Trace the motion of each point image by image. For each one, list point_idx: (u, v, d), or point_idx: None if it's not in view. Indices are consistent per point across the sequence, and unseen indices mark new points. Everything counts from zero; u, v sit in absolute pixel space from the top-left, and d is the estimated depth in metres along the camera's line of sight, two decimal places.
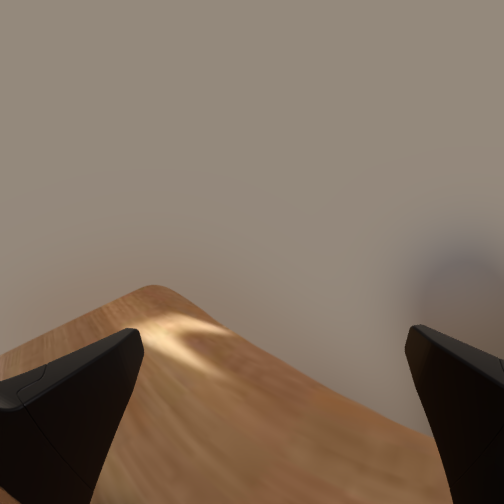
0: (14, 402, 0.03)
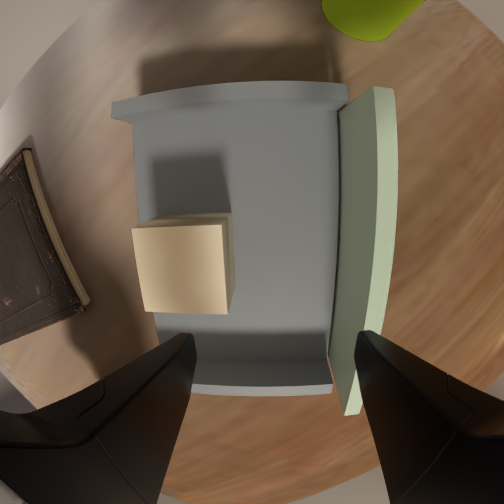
0: (79, 431, 0.03)
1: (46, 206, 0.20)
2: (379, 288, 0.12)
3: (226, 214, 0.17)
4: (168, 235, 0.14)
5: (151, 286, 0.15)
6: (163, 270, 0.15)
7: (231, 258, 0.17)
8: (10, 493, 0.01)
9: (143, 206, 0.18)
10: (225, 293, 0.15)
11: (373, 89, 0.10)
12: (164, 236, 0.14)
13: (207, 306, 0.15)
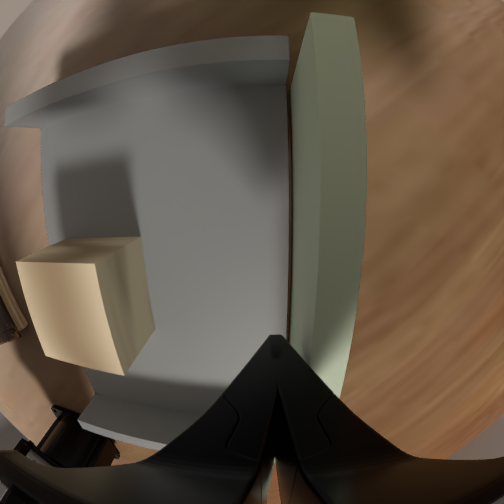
0: (241, 464, 0.03)
1: None
2: (325, 383, 0.07)
3: (130, 240, 0.12)
4: (45, 273, 0.09)
5: (43, 330, 0.10)
6: (49, 314, 0.10)
7: (138, 298, 0.12)
8: None
9: (51, 227, 0.13)
10: (116, 351, 0.10)
11: (311, 18, 0.04)
12: (42, 274, 0.09)
13: (100, 363, 0.10)
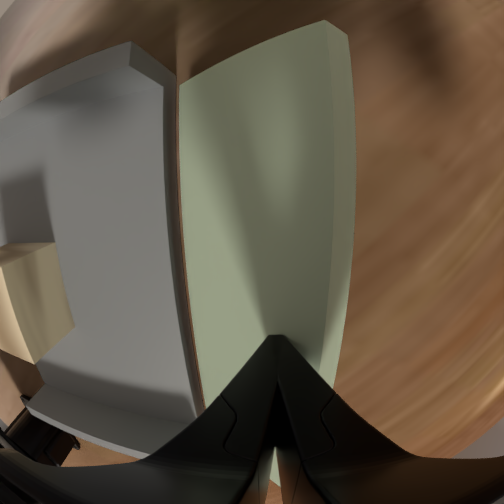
0: (238, 464, 0.03)
1: None
2: (328, 368, 0.07)
3: (44, 246, 0.11)
4: None
5: None
6: None
7: (52, 298, 0.12)
8: None
9: None
10: (25, 342, 0.09)
11: (323, 25, 0.05)
12: None
13: (18, 351, 0.10)
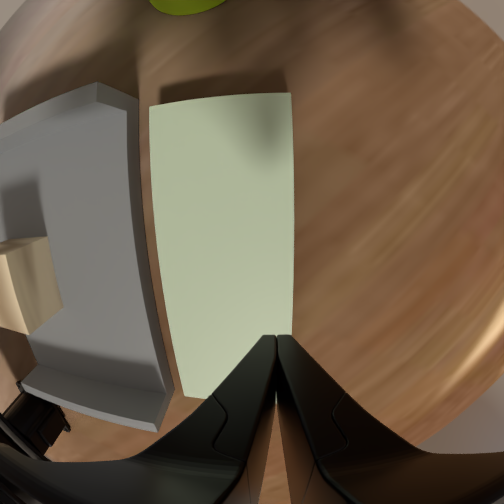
0: (226, 463, 0.03)
1: None
2: None
3: (38, 239, 0.14)
4: None
5: None
6: None
7: (45, 281, 0.14)
8: None
9: (0, 230, 0.15)
10: (22, 316, 0.12)
11: (289, 95, 0.12)
12: None
13: (16, 325, 0.12)
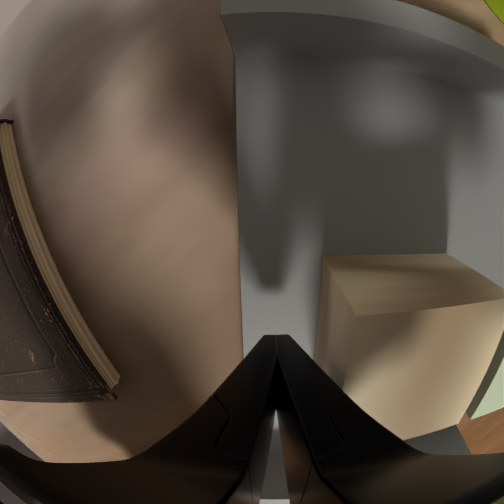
0: (228, 463, 0.03)
1: (34, 220, 0.11)
2: None
3: (451, 259, 0.08)
4: (437, 325, 0.05)
5: None
6: (398, 390, 0.06)
7: None
8: None
9: (253, 234, 0.09)
10: (471, 398, 0.06)
11: None
12: (429, 328, 0.05)
13: (438, 423, 0.06)
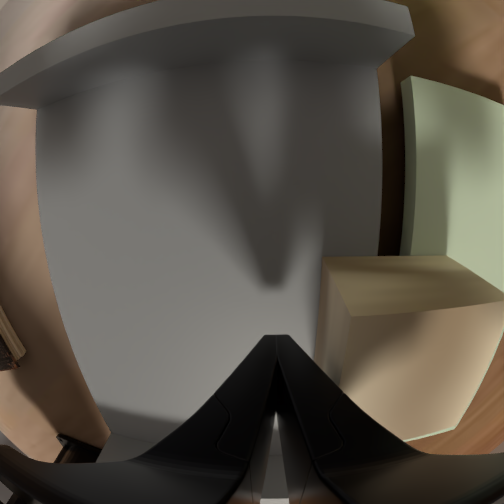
0: (229, 463, 0.03)
1: None
2: None
3: (451, 261, 0.08)
4: (433, 327, 0.05)
5: None
6: (396, 391, 0.06)
7: None
8: None
9: (50, 240, 0.10)
10: (468, 400, 0.06)
11: None
12: (425, 330, 0.05)
13: (436, 425, 0.06)
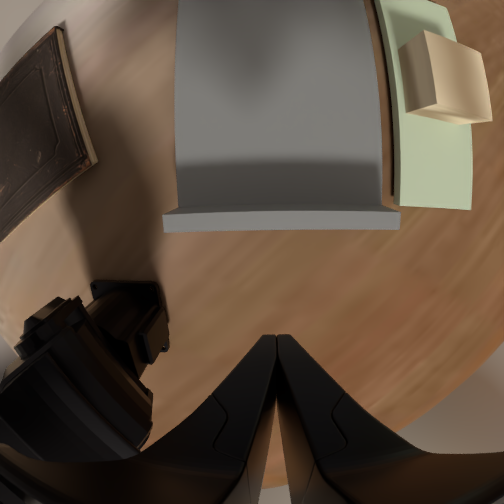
0: (226, 463, 0.03)
1: (69, 71, 0.16)
2: None
3: None
4: (452, 45, 0.10)
5: (442, 80, 0.11)
6: (451, 69, 0.10)
7: None
8: None
9: (182, 36, 0.14)
10: (489, 102, 0.11)
11: (446, 9, 0.12)
12: (449, 45, 0.10)
13: (481, 110, 0.11)
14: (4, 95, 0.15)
